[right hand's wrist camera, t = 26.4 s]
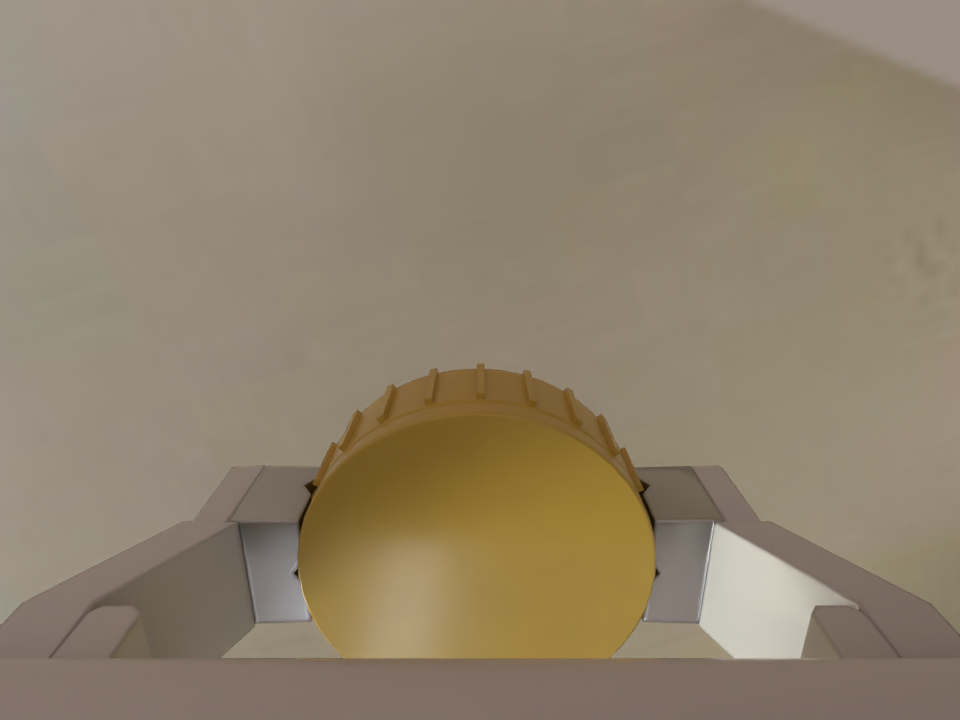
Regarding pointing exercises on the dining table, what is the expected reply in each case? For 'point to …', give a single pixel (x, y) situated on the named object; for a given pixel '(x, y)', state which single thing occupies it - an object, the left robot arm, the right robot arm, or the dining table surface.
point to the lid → (476, 526)
